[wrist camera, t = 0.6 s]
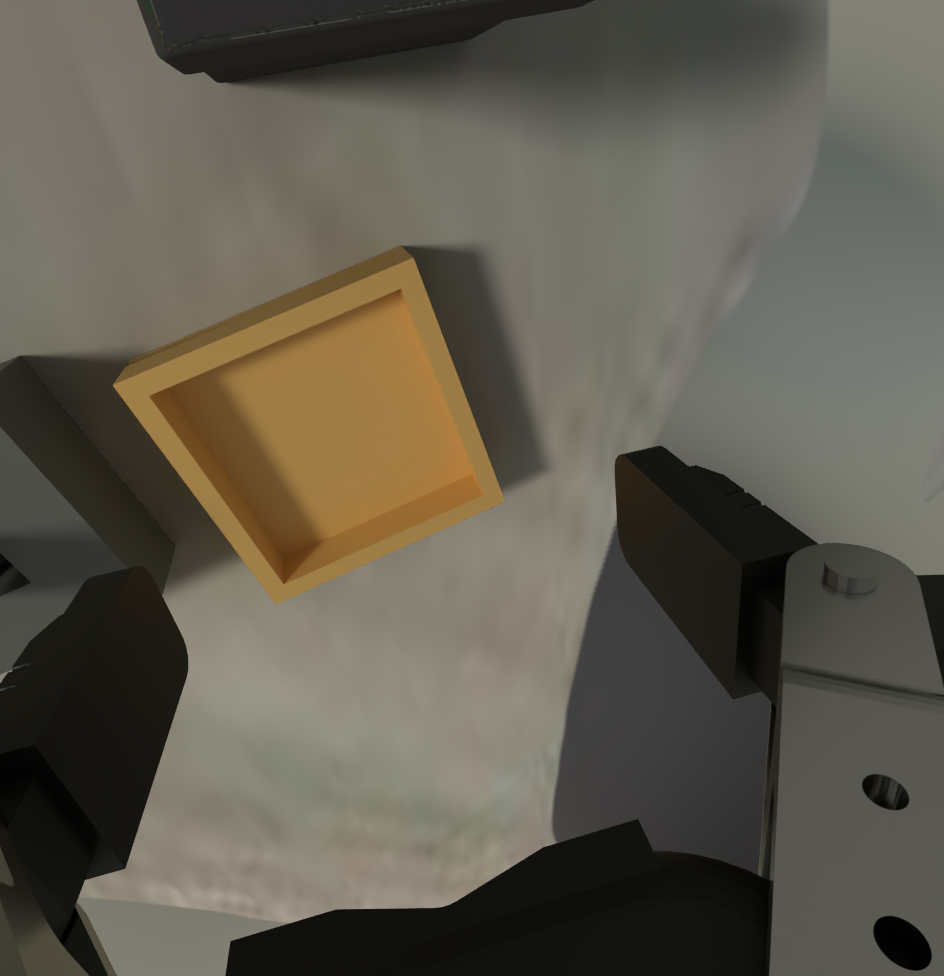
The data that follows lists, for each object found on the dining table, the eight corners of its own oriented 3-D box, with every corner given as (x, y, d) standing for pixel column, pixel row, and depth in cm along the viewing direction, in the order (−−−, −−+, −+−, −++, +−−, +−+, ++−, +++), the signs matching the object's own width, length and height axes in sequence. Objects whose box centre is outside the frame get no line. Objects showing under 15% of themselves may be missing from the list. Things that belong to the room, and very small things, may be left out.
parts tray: (130, 360, 28) (112, 385, 25) (400, 246, 29) (413, 257, 26) (276, 566, 36) (275, 604, 33) (487, 472, 37) (505, 501, 34)
